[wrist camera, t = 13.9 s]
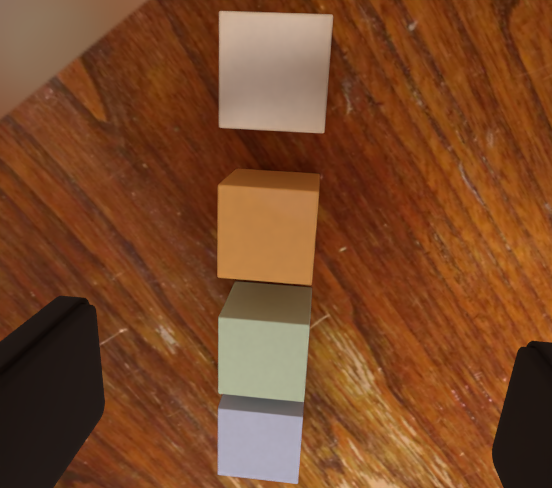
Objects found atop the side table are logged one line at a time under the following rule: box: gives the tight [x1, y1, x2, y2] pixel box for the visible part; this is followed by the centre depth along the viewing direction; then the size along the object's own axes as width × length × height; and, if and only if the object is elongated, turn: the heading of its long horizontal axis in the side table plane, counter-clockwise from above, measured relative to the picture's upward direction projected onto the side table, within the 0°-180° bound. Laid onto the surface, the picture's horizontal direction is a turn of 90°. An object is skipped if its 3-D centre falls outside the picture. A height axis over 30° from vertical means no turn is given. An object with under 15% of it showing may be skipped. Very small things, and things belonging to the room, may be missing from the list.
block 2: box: [218, 281, 312, 402], centre depth 28 cm, size 5×5×5 cm
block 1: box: [219, 11, 333, 133], centre depth 23 cm, size 5×5×5 cm
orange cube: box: [217, 168, 320, 285], centre depth 25 cm, size 5×5×5 cm
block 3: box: [218, 394, 304, 484], centre depth 30 cm, size 5×5×5 cm
